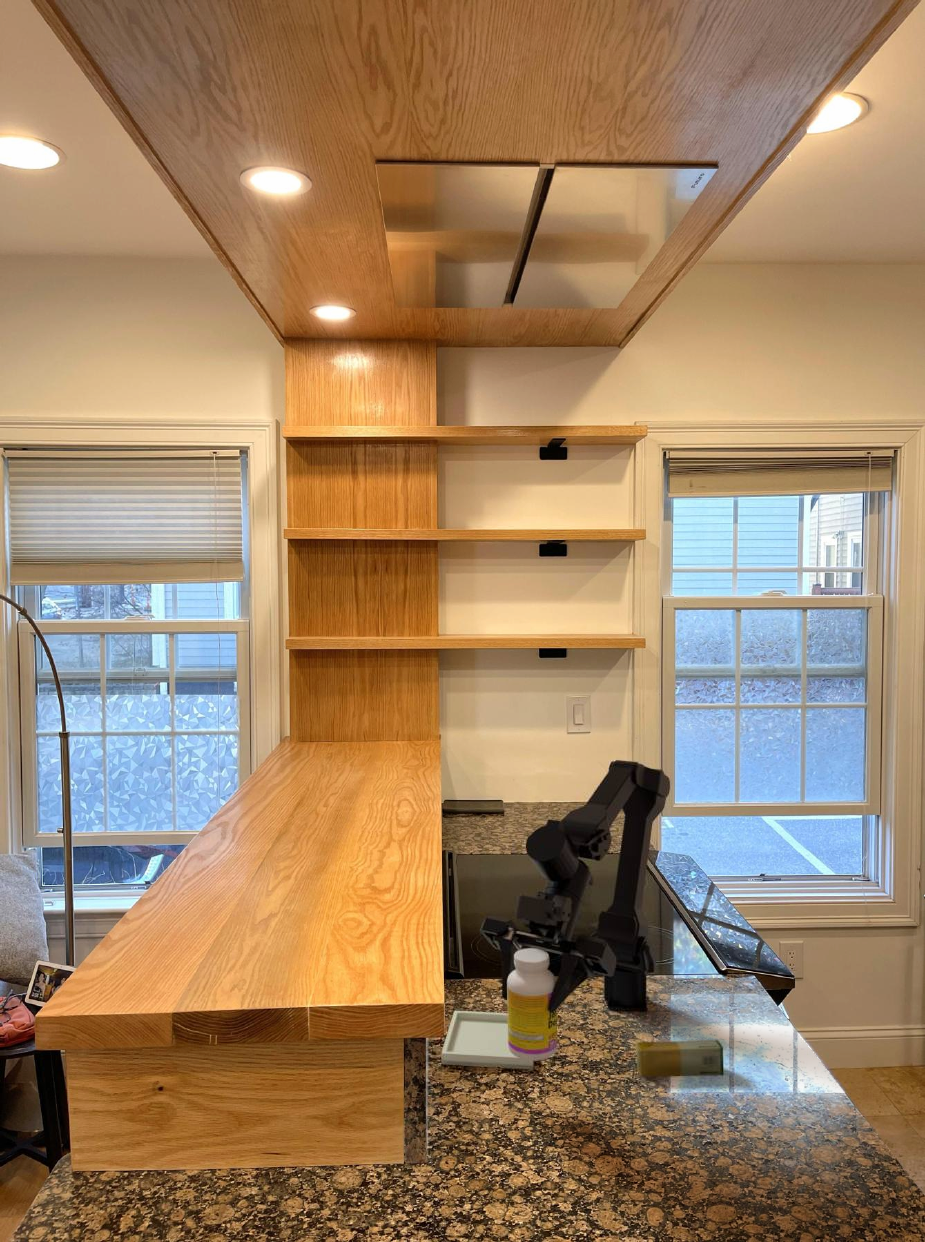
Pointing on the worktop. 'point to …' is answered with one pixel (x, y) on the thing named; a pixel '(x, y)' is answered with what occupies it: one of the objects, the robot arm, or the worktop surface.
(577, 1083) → the worktop surface
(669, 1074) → the medication box
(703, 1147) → the worktop surface
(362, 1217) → the worktop surface
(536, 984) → the supplement bottle
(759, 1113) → the worktop surface
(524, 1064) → the tray
